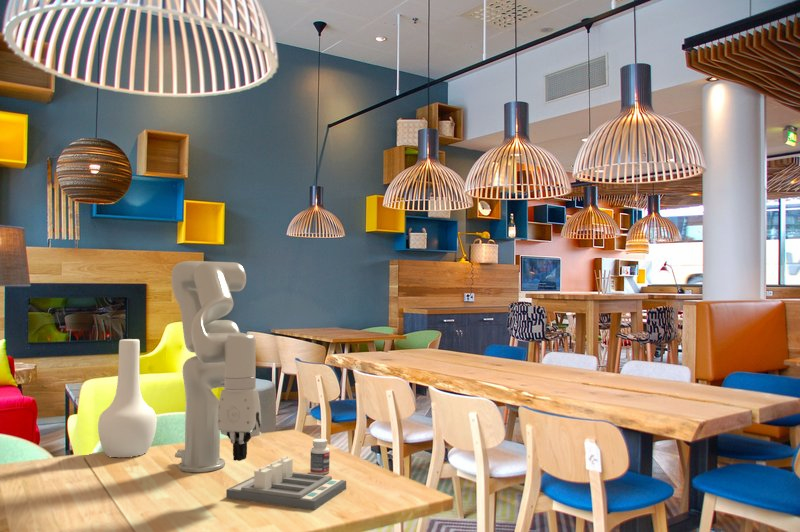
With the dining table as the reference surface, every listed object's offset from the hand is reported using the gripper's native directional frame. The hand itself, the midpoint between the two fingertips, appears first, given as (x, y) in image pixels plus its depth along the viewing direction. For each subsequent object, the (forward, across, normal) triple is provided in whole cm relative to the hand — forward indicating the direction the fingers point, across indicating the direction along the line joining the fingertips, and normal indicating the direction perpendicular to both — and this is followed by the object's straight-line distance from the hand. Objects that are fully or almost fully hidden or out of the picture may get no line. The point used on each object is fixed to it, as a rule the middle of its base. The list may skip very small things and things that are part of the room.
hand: (239, 459), depth 156 cm
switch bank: (+9, +10, +6) cm, 15 cm away
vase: (+7, -56, +22) cm, 60 cm away
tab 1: (+7, +6, +1) cm, 9 cm away
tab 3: (+7, +6, +11) cm, 14 cm away
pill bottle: (+9, +9, +25) cm, 28 cm away
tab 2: (+7, +6, +6) cm, 11 cm away
